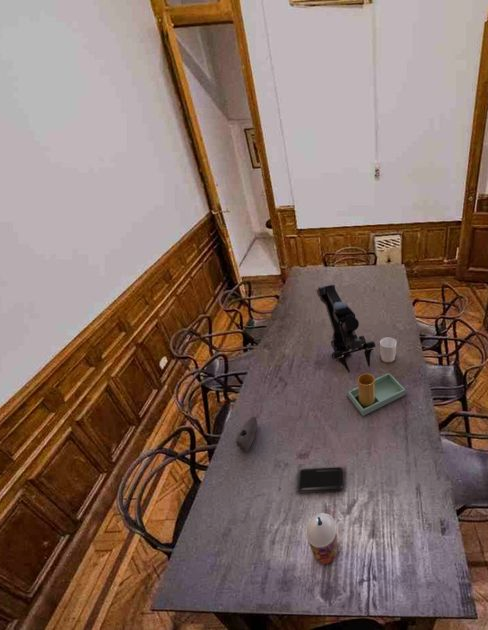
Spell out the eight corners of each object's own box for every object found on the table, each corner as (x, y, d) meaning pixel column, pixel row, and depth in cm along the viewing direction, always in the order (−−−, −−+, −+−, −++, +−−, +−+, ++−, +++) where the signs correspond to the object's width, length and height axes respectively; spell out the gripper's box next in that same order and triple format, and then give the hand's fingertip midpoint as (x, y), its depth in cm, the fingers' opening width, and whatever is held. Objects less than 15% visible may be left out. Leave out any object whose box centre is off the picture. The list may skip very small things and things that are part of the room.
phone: (342, 489, 113) (297, 490, 113) (342, 490, 114) (298, 492, 114) (342, 466, 120) (300, 468, 120) (343, 468, 120) (300, 470, 120)
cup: (355, 398, 146) (354, 377, 140) (368, 391, 149) (368, 371, 142) (364, 408, 141) (363, 387, 135) (377, 401, 144) (377, 380, 138)
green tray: (363, 416, 139) (362, 410, 137) (348, 397, 148) (347, 391, 146) (405, 395, 148) (405, 389, 146) (388, 378, 157) (388, 372, 155)
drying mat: (363, 410, 141) (363, 410, 141) (354, 398, 147) (353, 397, 147) (379, 402, 144) (379, 402, 144) (369, 390, 150) (369, 390, 150)
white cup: (395, 364, 164) (395, 348, 159) (378, 362, 166) (378, 346, 160) (396, 353, 170) (397, 338, 165) (381, 352, 172) (381, 336, 166)
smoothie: (323, 530, 104) (316, 495, 93) (345, 547, 100) (341, 513, 88) (305, 556, 98) (295, 522, 87) (328, 576, 94) (321, 543, 83)
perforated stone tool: (251, 422, 139) (247, 411, 135) (263, 423, 138) (259, 412, 134) (235, 455, 126) (230, 443, 123) (248, 456, 126) (244, 445, 122)
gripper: (331, 337, 137) (342, 374, 135) (373, 325, 143) (385, 361, 140) (327, 341, 148) (337, 376, 145) (366, 330, 153) (377, 364, 151)
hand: (359, 369), depth 145 cm, fingers open, 9 cm apart
